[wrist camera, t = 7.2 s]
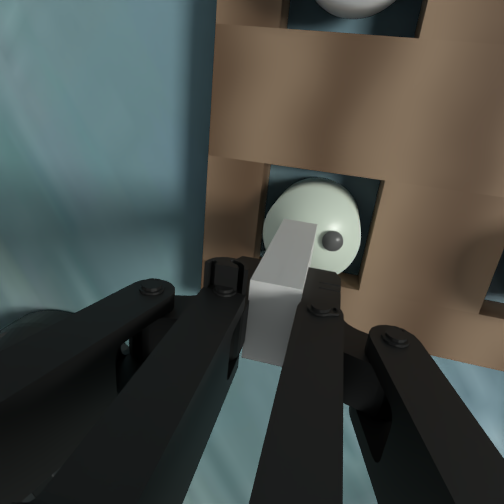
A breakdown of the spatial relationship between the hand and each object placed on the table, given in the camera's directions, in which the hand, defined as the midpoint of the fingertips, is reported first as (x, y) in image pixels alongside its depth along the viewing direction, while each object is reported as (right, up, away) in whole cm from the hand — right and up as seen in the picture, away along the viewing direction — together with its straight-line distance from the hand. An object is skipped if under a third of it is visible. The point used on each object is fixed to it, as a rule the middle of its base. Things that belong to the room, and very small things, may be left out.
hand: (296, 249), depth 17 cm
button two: (+2, +2, +4) cm, 5 cm away
